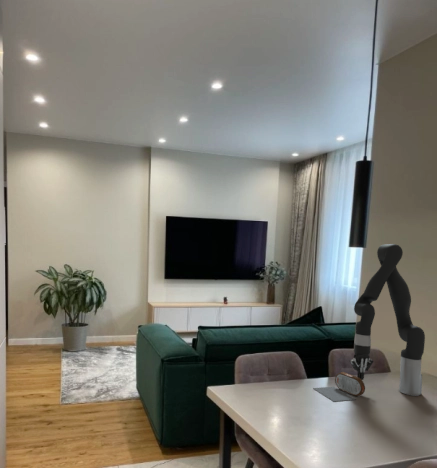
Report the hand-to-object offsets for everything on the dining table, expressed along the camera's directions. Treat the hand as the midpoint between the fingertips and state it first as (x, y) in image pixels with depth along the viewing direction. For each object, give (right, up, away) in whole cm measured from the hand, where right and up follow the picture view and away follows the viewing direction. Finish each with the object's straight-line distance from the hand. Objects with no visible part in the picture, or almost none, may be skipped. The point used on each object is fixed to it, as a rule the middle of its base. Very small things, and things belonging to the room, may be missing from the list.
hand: (360, 379), depth 182 cm
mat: (-15, -5, -6) cm, 16 cm away
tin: (-7, -6, -3) cm, 9 cm away
